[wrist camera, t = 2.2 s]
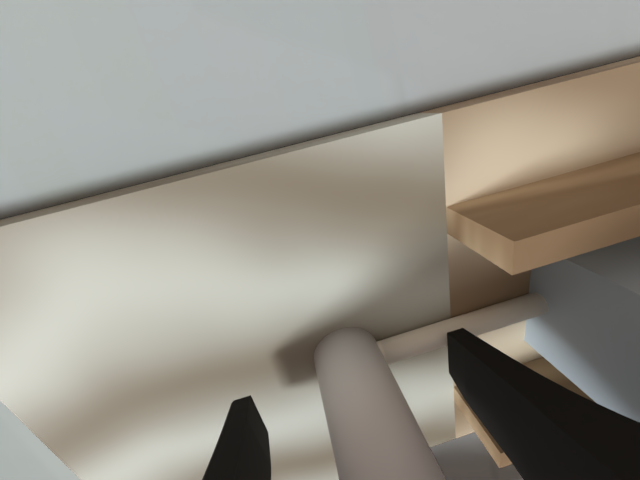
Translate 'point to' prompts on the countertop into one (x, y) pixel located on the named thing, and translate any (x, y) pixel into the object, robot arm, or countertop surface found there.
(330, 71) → the countertop surface
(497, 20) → the countertop surface
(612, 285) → the block
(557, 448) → the robot arm
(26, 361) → the shelf lane
